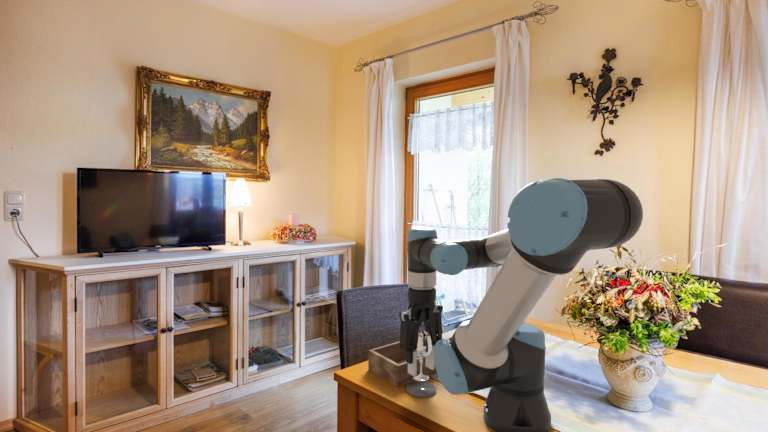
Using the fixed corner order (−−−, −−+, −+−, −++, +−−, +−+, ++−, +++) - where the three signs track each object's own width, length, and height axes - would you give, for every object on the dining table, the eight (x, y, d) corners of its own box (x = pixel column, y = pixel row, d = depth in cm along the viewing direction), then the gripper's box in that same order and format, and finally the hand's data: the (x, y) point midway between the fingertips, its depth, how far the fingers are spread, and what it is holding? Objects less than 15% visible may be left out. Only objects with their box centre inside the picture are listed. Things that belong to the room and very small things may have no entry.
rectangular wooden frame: (454, 366, 132) (454, 347, 131) (397, 387, 118) (398, 366, 118) (423, 351, 143) (423, 334, 142) (368, 369, 129) (368, 350, 129)
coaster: (442, 391, 116) (442, 389, 116) (420, 400, 111) (420, 398, 111) (422, 380, 122) (422, 378, 122) (400, 388, 117) (400, 386, 117)
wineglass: (435, 375, 117) (435, 332, 116) (425, 384, 113) (426, 339, 112) (416, 370, 121) (416, 328, 119) (406, 378, 116) (406, 335, 115)
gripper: (437, 278, 123) (436, 357, 125) (384, 288, 112) (384, 375, 114) (457, 283, 117) (455, 366, 119) (403, 295, 106) (403, 386, 108)
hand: (421, 370), depth 116 cm, fingers closed on wineglass, 6 cm apart
